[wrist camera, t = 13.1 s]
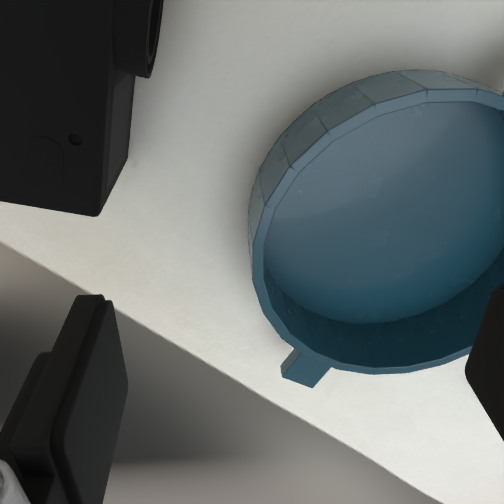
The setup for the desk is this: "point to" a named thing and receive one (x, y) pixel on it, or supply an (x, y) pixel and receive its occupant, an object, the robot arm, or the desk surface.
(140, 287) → the desk surface
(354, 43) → the desk surface
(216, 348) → the desk surface
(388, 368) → the tin
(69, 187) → the digital camera
